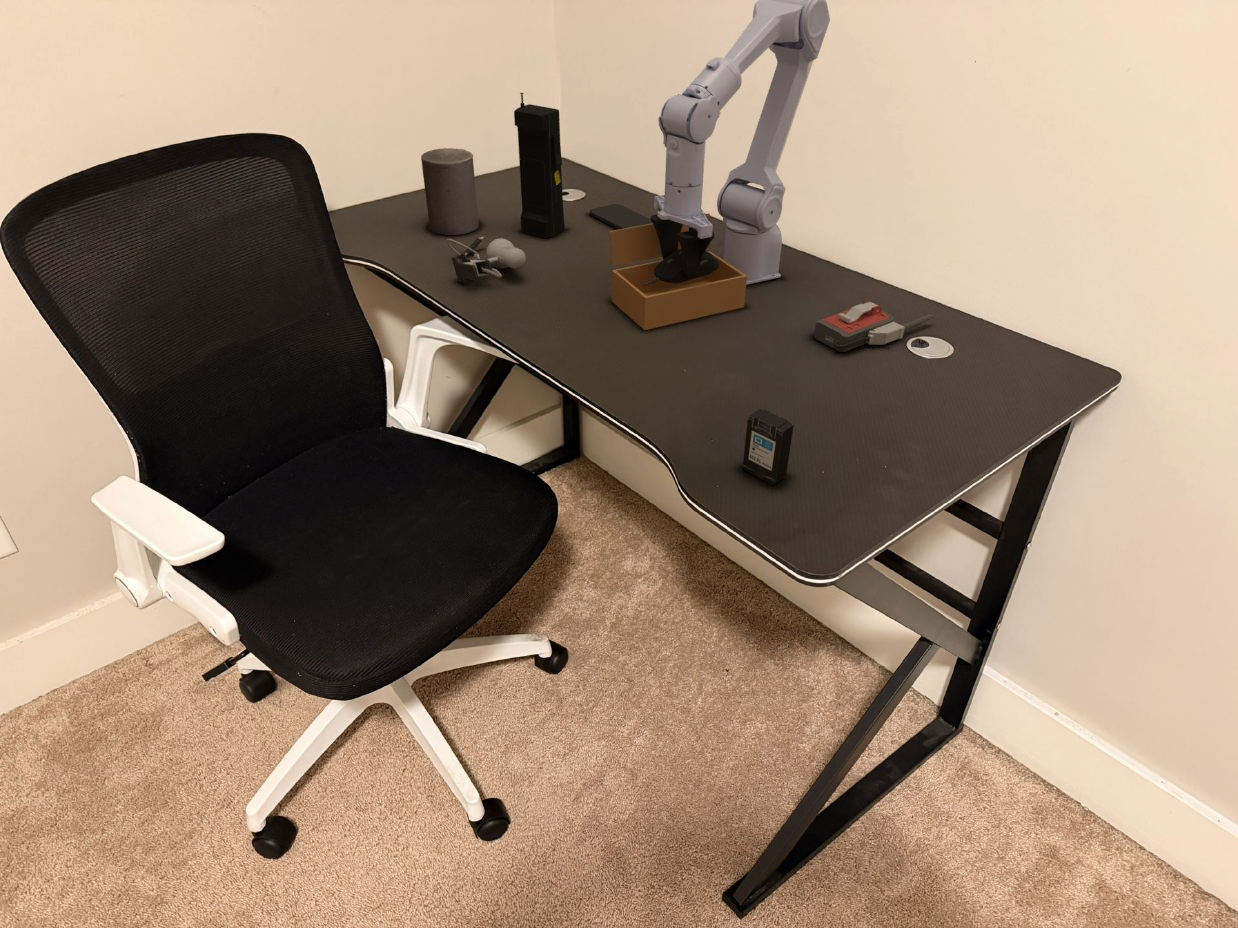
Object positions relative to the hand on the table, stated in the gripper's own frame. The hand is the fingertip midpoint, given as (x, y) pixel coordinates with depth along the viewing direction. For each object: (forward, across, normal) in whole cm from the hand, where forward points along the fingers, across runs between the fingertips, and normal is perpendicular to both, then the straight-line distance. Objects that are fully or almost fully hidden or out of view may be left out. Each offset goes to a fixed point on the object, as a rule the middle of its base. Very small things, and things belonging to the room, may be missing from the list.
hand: (679, 266), depth 138 cm
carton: (+7, 0, 0) cm, 7 cm away
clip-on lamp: (+7, -27, -24) cm, 37 cm away
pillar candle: (+7, -49, -22) cm, 54 cm away
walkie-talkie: (+7, +22, +22) cm, 32 cm away
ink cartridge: (+7, +45, -14) cm, 48 cm away
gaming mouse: (+2, 0, 0) cm, 2 cm away
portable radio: (+7, -39, -7) cm, 40 cm away
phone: (+7, -37, +9) cm, 39 cm away
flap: (-2, -6, 0) cm, 6 cm away
